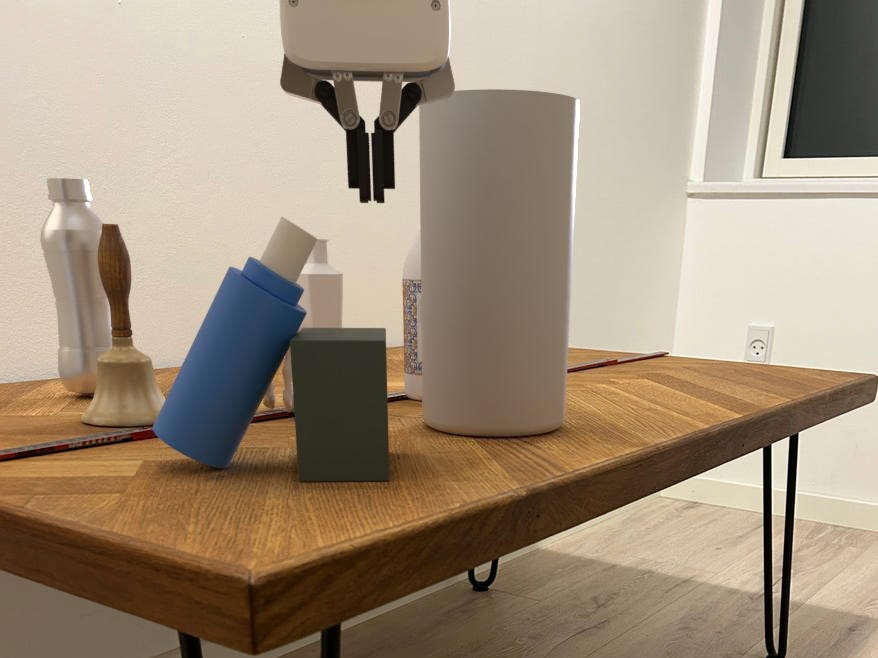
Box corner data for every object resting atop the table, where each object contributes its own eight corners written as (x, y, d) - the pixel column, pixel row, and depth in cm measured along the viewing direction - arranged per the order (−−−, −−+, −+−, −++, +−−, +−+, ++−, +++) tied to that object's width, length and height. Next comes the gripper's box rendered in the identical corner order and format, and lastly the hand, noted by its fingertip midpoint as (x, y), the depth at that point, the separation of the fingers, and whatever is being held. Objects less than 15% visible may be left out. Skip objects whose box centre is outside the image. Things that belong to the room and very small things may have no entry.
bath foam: (423, 391, 103) (421, 187, 95) (481, 395, 100) (484, 186, 92) (392, 399, 97) (387, 183, 89) (453, 404, 94) (453, 182, 86)
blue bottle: (148, 474, 64) (118, 211, 57) (166, 458, 69) (140, 214, 62) (324, 475, 65) (313, 216, 58) (328, 458, 70) (319, 218, 64)
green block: (298, 481, 62) (289, 340, 59) (309, 451, 72) (302, 327, 68) (389, 481, 63) (385, 340, 60) (388, 451, 72) (385, 327, 69)
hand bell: (165, 409, 89) (144, 225, 83) (191, 422, 83) (171, 224, 77) (72, 416, 85) (43, 223, 79) (93, 430, 79) (62, 221, 72)
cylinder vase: (451, 442, 76) (452, 84, 66) (404, 417, 86) (398, 106, 77) (589, 433, 80) (609, 96, 70) (528, 411, 91) (537, 115, 81)
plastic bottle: (69, 391, 99) (37, 180, 92) (136, 390, 101) (110, 182, 93) (55, 400, 94) (20, 176, 86) (126, 399, 95) (98, 178, 87)
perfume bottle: (343, 410, 90) (336, 239, 84) (356, 417, 86) (349, 239, 80) (295, 412, 88) (285, 238, 83) (306, 420, 85) (296, 238, 79)
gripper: (483, -123, 58) (481, 205, 65) (236, -133, 57) (261, 203, 64) (497, -172, 51) (493, 201, 58) (216, -185, 50) (247, 198, 57)
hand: (372, 201), depth 61 cm, fingers closed
